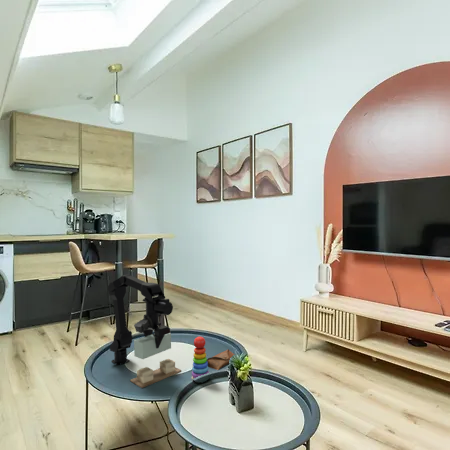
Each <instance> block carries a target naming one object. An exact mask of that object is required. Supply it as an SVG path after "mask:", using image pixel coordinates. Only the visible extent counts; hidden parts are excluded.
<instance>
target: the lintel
mask: <svg viewBox="0 0 450 450" xmlns="http://www.w3.org/2000/svg"><path fill="white" fill-rule="evenodd" d="M153 334H155V333H154V332H153ZM153 334H151V335H148V336H145V335H144V336H143V337H139V338H137V339H134V340H133V346H134V348H133V349H134V350H133V351H134V352H133V353H134V357H135V358H137V359H141V360H145V359H148V358H150V357H152V356H154V355H158V354H160V353H163V352H165V351H168V350H171V349H172V333H171V332H170V333H169V334H166V335H164V337H163V339H162V341H161V344H160V346H159V348H156V344H155V337H154V336H153Z"/></svg>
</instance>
